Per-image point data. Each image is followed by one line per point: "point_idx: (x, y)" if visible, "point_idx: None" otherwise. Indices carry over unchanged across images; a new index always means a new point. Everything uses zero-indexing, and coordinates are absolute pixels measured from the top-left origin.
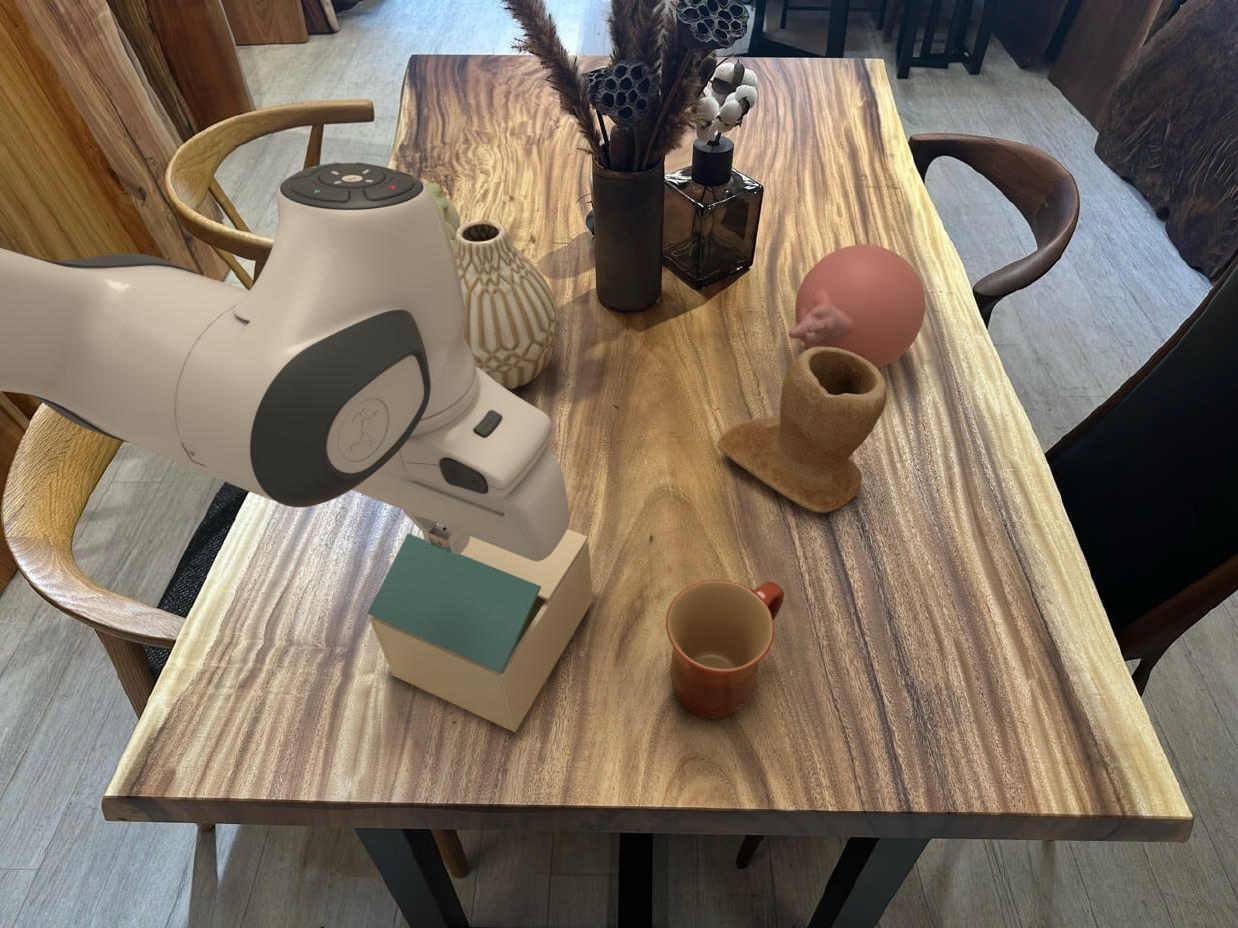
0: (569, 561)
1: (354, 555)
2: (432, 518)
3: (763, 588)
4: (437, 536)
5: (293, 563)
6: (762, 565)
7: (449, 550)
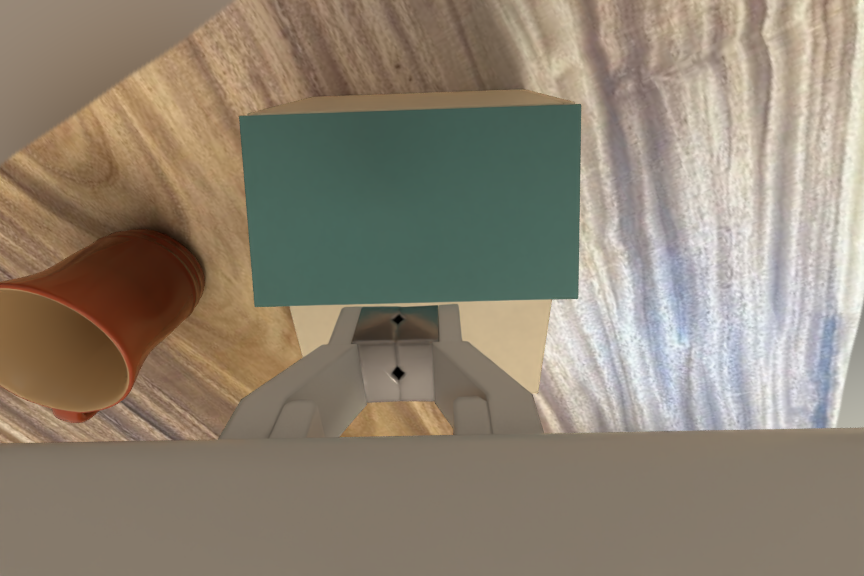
0: (305, 355)
1: (678, 232)
2: (281, 474)
3: (68, 415)
4: (398, 342)
5: (768, 182)
6: (222, 404)
7: (367, 311)
